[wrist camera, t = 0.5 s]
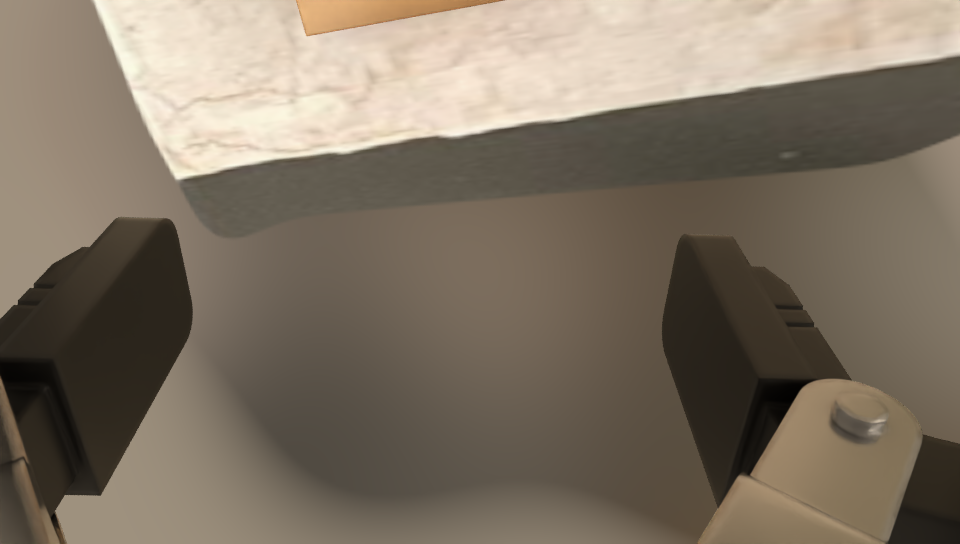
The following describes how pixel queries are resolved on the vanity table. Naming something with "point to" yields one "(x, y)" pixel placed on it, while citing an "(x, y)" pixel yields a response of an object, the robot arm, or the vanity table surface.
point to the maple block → (369, 12)
